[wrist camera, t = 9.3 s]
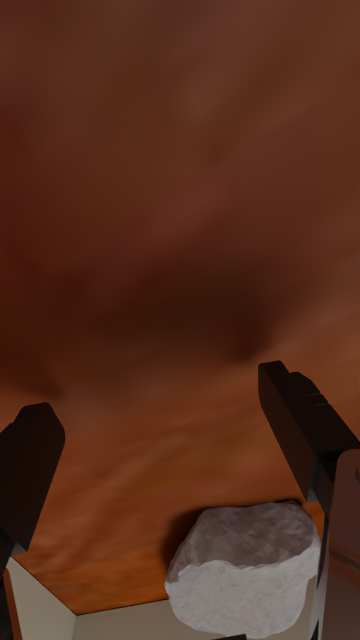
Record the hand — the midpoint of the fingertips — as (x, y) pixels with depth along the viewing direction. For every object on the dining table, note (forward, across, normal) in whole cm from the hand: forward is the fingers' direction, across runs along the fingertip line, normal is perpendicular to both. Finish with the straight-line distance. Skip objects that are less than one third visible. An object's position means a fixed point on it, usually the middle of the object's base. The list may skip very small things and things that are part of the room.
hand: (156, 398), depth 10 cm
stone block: (+2, -2, +18) cm, 18 cm away
